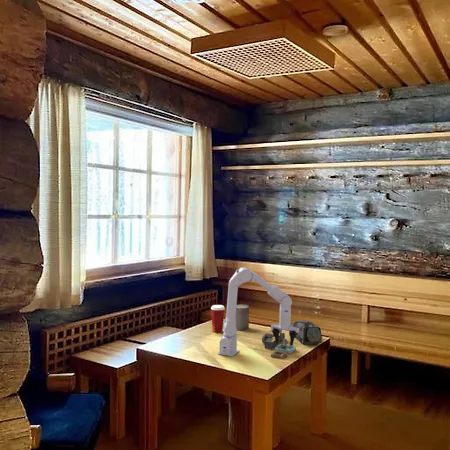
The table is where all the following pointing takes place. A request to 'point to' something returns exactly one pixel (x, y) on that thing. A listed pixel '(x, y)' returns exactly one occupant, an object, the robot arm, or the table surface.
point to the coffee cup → (217, 318)
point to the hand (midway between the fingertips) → (284, 344)
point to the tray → (289, 350)
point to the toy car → (307, 332)
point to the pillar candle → (242, 317)
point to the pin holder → (278, 354)
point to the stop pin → (284, 344)
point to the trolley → (271, 335)
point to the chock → (270, 343)
